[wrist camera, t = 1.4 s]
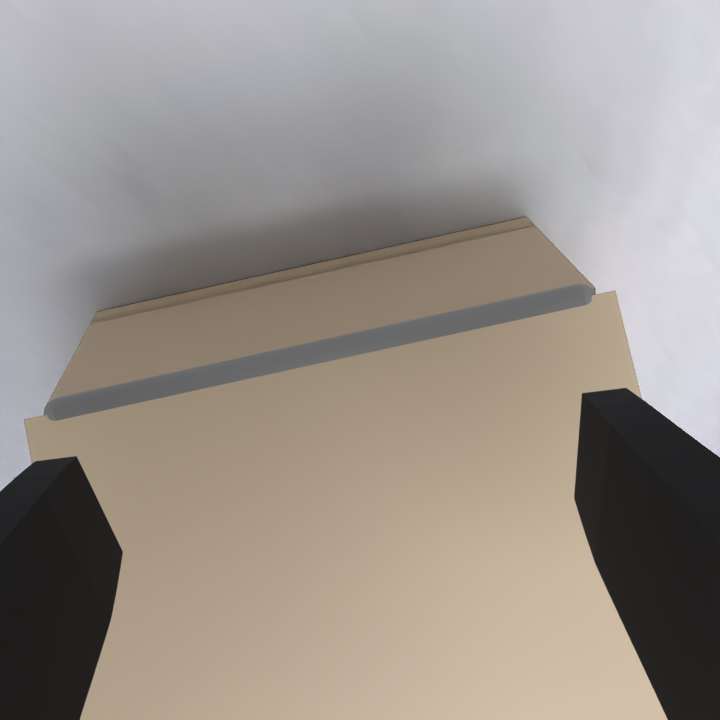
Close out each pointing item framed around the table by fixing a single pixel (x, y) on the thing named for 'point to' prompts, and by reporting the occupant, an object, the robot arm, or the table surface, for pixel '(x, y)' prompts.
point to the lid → (362, 525)
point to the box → (316, 303)
